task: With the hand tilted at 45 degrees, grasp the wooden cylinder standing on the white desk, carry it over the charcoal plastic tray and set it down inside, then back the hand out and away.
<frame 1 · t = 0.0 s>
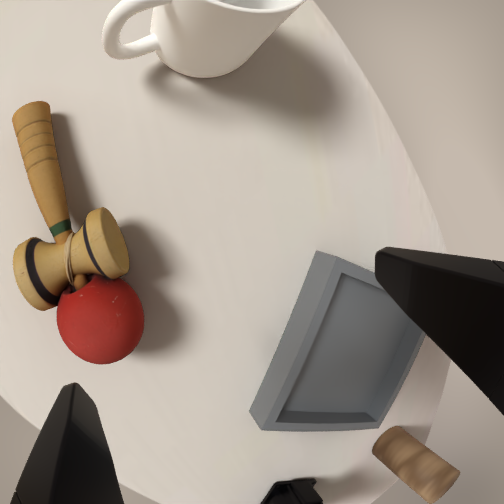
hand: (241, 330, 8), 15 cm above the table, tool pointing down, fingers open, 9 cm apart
kendama: (69, 228, 20), on the table
tray: (346, 350, 29), on the table
wooden cylinder: (386, 440, 36), on the table
cup: (180, 45, 20), on the table
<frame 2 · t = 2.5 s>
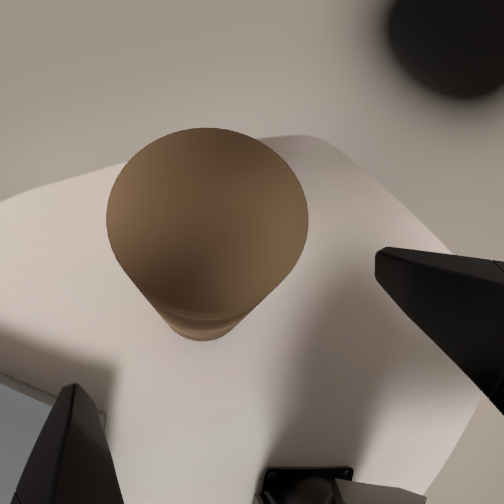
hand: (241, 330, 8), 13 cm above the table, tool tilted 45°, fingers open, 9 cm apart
tray: (7, 468, 13), on the table
wooden cylinder: (201, 298, 20), on the table
when the fingers open (9 cm above the table, at t = 10.9 s): wooden cylinder drops 1 cm, resting on tray.
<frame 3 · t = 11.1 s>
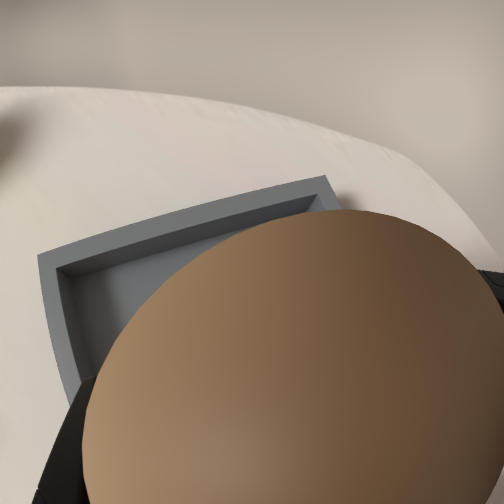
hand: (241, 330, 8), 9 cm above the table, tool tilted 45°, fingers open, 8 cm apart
tray: (232, 369, 16), on the table
wooden cylinder: (234, 370, 15), point 1 cm above the table, touching tray
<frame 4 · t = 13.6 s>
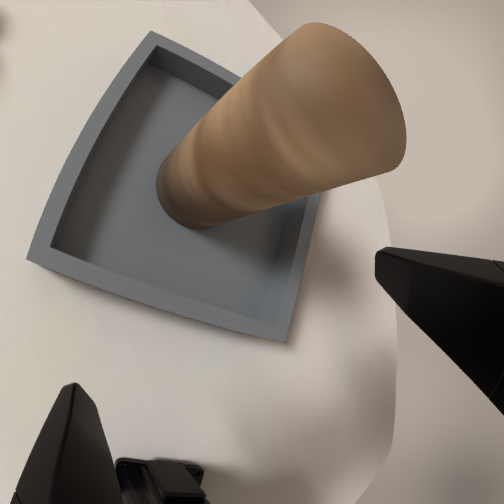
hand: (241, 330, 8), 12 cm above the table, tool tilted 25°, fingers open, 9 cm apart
tray: (193, 189, 20), on the table
wooden cylinder: (197, 186, 20), point 1 cm above the table, touching tray
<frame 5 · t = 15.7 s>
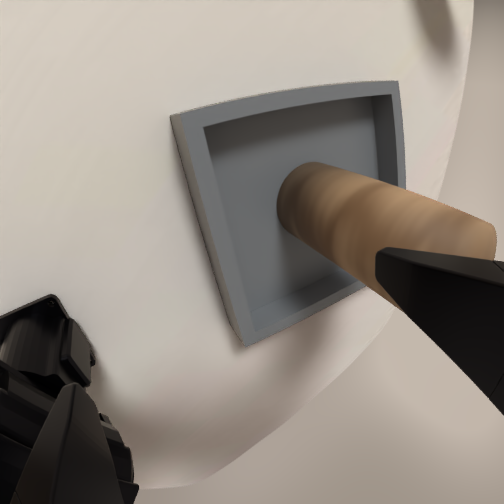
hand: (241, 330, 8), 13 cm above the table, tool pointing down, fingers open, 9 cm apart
tray: (305, 197, 23), on the table
wooden cylinder: (310, 200, 22), point 1 cm above the table, touching tray
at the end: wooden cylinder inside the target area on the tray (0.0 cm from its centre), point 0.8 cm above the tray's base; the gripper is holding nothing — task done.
